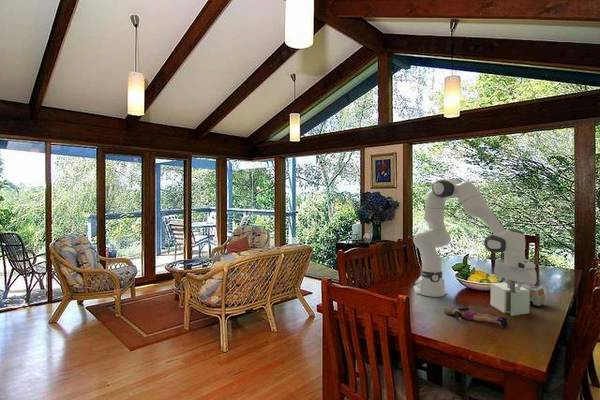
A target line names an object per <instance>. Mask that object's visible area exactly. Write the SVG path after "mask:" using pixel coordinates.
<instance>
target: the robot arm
mask: <svg viewBox="0 0 600 400" xmlns="http://www.w3.org/2000/svg"><path fill="white" fill-rule="evenodd" d="M431 188H432V189H431V190H429V191H428V192H427V195H426V199H425V204H424V214H423V215H424V216H423V218H424V219H423V220H424V222H425V223H427V224H428V230H427V229H425V230H424V229H423V230H420V231H417V232H415V234H414V235H413V237H412V240H413V244H414V246H415V247H416V248H418V251H419V253H420V257H421V271H420V276H419V277H418V279H416V280H415V285H413V289H414V293H415V294H417V295H422V296H426V297H433V298H434V297H435V298H438V297H439V298H440V297H443V296H445V295H448V292H447V291H446V286H445V285H446V284H445V280H444V279H443V271H442V263H443V261H442V257H441V256H439V255H438V253H437V250H436V248H442V247H443V248H444V247H446V246H447V245H449V244H450V243H451V239H452V238H451V235H450V233H449V231H448V230H447V229H446V226H445V220H444V219H445V208H446V206H445V205H446V201H447V199H453V198H457V199H458V201H459V202H460V205H462V207H463V209H464V210H465V212H466V213H467V214H468V215H469V216H473V217H475V218H478V219H480V220H482V221H483V222H484V223H485V224H486V225H487V227H488V228H489V230H490V231H491V232H492V234H489V235H487V236H486V237H485V238H484V241H483V242H484V243H483V244H484V247H485V249H486V250H487V251H488V252H489V253H493V254H498V253H502V254H503V255H504V257H503V259H502V258H497V259H495V262H494V269H493V275H494V276H495V277H498V278H502V279H504V281H505V283H507V288H510V282H511V281H512V282H516V283H517V284H518V286H517V287H515V290H517V291H520V287H521V286H522V285H523V284H526V285H531V286H535V285H536V284H537V271H536V269H535V268H536V264H535V263H534V262H533V261H532V262H531V261H530V260H528V259H526V255H525V249H526V236H525V234H524V232H523V231H522V230H520V229H517V228H507V229H506V227H505V226H504V225H503V224H502V222H501V221H500V219H499V218H498V217H497V215H496V214H495V212H494V211H493V210H492V208H491V207H490V206H489V205H488V203H487V202H486V200H485V199H484V197H483V196H482V193H481V192H480V191H479V189H478V188H477V186H475V184H474V183H473V182H472V181H469V180H464V181H462V180H461V179H457V178H444V179H443V178H441V179H437V180H436V181H435V182H434V183H433V184H432V186H431Z"/></svg>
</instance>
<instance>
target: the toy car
mask: <svg viewBox="0 0 600 400" xmlns="http://www.w3.org/2000/svg"><path fill="white" fill-rule="evenodd" d="M515 284H516V285H518V284H517V282H515ZM521 287H523V288H525V289H527V290H530V308H532V307H534V306H537V307H538V306H541V305H543V304H545V303H546V300H545V299H546V294H545V291H544V288H543V287H541V286H540V287H539V286H535V285H528V284H524V283H523V285H522V286H521Z"/></svg>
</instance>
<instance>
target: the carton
mask: <svg viewBox="0 0 600 400" xmlns="http://www.w3.org/2000/svg"><path fill="white" fill-rule="evenodd" d="M517 286H518V285H516V284H515V287H517ZM526 290H527V289H525V288H523V287H520V291H526ZM509 291H510V288H507V283H506V282H491V283H490V303H489V304H490V306H492V307H493V308H495V309H497V310H498V311H500V312H502V313H503V314H511V292H509ZM515 291H516V292H518V291H517V290H515Z"/></svg>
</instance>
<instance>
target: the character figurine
mask: <svg viewBox="0 0 600 400" xmlns="http://www.w3.org/2000/svg"><path fill="white" fill-rule="evenodd" d="M442 309H443V311H444V313H445V314H446V315H447V316H454V317H455V318H458V320H459V321H460V322H462V321H463V319H465V320H469V321H472V322H475V321H479V322H490V323H496V324H499V325H500V327H501V328H502V329H505V328H507V327H506V326H507V325H508V318H506V317H502V316H501V317H500V316H499V317H498V316H493V315H491V314H487V313H485V314H481V313H478V312H474V311H472V310H473V307H462V308H461V307H459V308H454V309H453V308H451V307H450V306H444V307H443V308H442ZM462 318H463V319H462Z"/></svg>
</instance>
